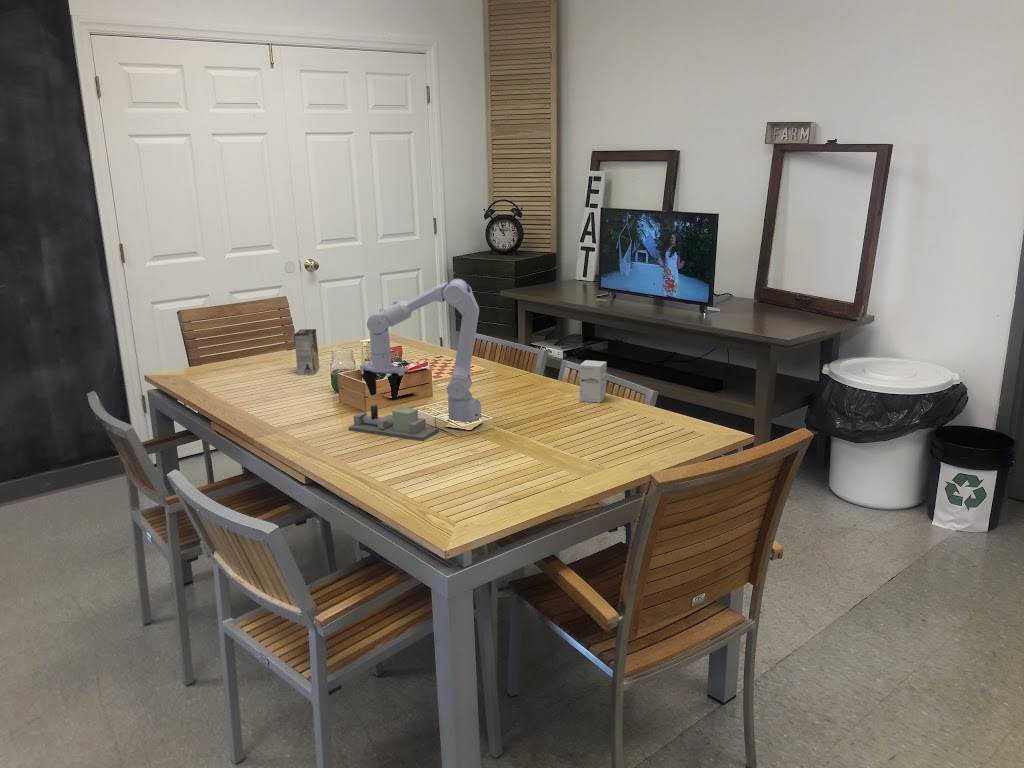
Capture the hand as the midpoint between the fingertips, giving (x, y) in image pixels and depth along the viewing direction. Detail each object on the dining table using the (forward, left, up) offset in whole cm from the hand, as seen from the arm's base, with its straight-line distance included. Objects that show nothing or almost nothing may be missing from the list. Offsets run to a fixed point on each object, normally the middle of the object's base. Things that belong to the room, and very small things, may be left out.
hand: (383, 396), depth 248 cm
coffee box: (+64, -43, -10) cm, 78 cm away
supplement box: (-50, -48, -10) cm, 70 cm away
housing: (-10, +4, -8) cm, 13 cm away
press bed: (-6, +4, -9) cm, 12 cm away
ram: (+1, +4, -8) cm, 9 cm away
